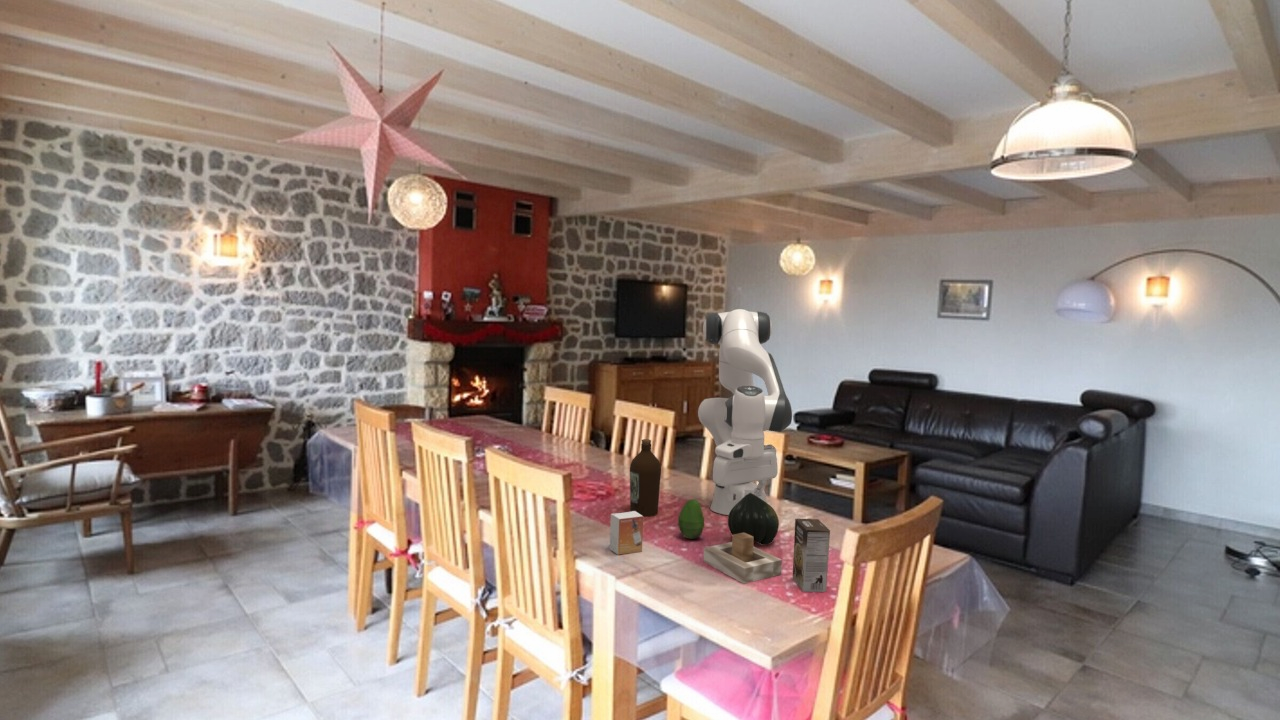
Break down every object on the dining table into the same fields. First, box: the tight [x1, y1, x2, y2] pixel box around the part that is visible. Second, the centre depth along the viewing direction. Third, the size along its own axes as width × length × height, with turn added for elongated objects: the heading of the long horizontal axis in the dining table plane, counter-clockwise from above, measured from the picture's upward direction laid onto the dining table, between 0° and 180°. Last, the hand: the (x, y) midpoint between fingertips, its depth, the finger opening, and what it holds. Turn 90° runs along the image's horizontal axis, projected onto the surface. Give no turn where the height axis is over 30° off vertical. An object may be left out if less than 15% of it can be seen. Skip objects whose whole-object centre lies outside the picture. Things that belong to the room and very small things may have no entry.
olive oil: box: [629, 438, 662, 518], centre depth 233 cm, size 11×11×25 cm
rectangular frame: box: [702, 541, 783, 584], centre depth 187 cm, size 13×17×4 cm
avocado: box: [677, 499, 705, 540], centre depth 210 cm, size 8×8×12 cm
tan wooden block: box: [731, 533, 755, 562], centre depth 187 cm, size 4×7×9 cm, turn 32°
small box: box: [609, 511, 644, 556], centre depth 198 cm, size 8×6×10 cm
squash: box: [727, 493, 780, 546], centre depth 209 cm, size 14×15×15 cm
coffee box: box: [792, 518, 831, 593], centre depth 177 cm, size 9×6×16 cm
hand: (745, 497), depth 186 cm, fingers open, 8 cm apart
